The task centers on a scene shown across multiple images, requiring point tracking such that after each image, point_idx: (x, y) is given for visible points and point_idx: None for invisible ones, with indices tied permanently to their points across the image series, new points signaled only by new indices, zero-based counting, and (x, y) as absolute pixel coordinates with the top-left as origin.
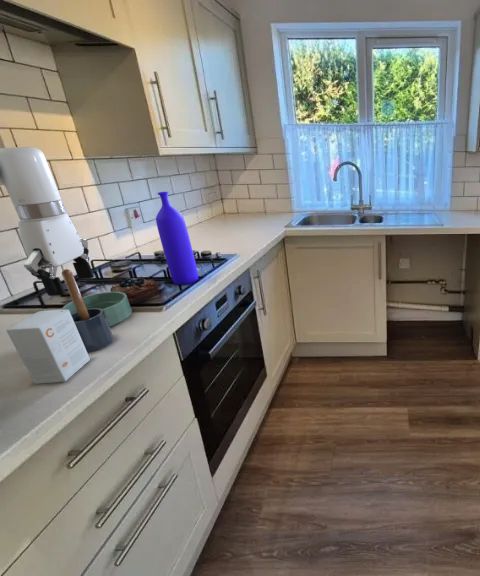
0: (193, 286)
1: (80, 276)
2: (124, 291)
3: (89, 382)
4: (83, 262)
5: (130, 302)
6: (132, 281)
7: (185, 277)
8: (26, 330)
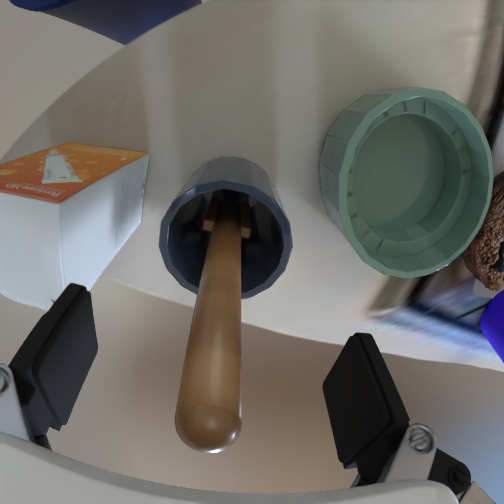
0: (461, 333)
1: (348, 355)
2: (490, 231)
3: None
4: (355, 459)
5: None
6: None
7: (488, 329)
8: None
